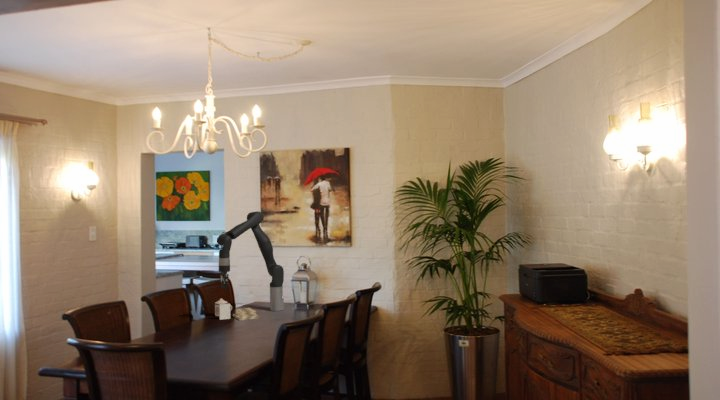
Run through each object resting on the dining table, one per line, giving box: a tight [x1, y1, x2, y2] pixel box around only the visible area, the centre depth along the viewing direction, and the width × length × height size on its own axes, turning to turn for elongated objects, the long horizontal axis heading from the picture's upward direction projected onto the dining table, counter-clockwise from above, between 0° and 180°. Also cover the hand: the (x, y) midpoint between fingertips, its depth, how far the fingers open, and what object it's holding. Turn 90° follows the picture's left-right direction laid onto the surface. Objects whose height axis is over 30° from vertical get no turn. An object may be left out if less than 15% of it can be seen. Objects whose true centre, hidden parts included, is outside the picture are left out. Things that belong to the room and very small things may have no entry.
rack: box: [232, 307, 260, 321], centre depth 385 cm, size 14×17×5 cm
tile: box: [218, 302, 231, 321], centre depth 381 cm, size 7×2×10 cm, turn 117°
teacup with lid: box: [214, 298, 233, 317], centre depth 394 cm, size 12×9×12 cm
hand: (224, 288), depth 381 cm, fingers open, 8 cm apart
